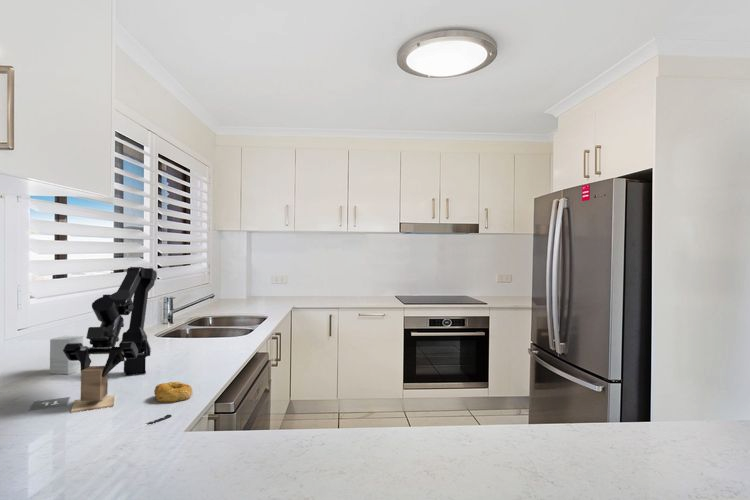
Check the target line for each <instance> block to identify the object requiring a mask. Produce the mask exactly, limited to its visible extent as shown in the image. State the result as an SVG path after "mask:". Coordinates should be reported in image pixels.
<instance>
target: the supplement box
mask: <svg viewBox="0 0 750 500" xmlns="http://www.w3.org/2000/svg"><path fill="white" fill-rule="evenodd" d="M68 343H82V345H83V346H84V335H63V336H58V337H54V338H50V340H49V374H53V375H56V374H57V375H70V374H73V373H76V372H79V371H81V363H80V361H71V360H69V359H68V358H67V356H66V355H65V353H64V352H63V349H64V347H65V345H66V344H68Z"/></svg>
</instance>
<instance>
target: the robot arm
mask: <svg viewBox="0 0 750 500" xmlns="http://www.w3.org/2000/svg"><path fill="white" fill-rule="evenodd" d="M157 278H158V273H157V270H154V268H153V267H142V266H130V267H127V269H126V274H125V276H124V278H123V280H122V281H121V283H120V285H119V288H118V289H117V290H116V292H113V293H111V294H103V295H102V296H101V297H99V298H97V299H95V300H94V301H93V302H92V303H91V309H92V311H93V313H94V315H95V316H96V318H97V320H98V321H99V322H100V323H101V324H100V326H90V327H88V329H87V332H86V339H87V340H89V342H88V343H89V344H90V345H92V346H87V345H84V344H83V345H82V343H68V344H66V345H65V347H64V349H63V352H64V353H65V355H66V356H67V358H68V359H69V360H71V361H80V363H81V370H80V372H81V371H82V370H84V369H85V368H87V367H89V366H91V363H92V359H91V358H90V356H91V355H108V357H107V360H106V362H105V365H104V366H105V367H104V369H103V373H102V377H105V376H106V375H107V374H108V375H109V373H110V372H111V371H112V370H113V369H114V368H115V367H117V365H119V364H120V363H122V362H123V374H125V376H126V377H128V376H136V375H145V374H147V371H146V363H147V362H146V359H147V357H150V356H151V352H152V347H151V346H150V344H149V340H148V335H147V334H146V331H145V330H144V329H145V328H144V327H145V321H146V313H147V312H146V311H147V305H148V297H149V292H150V291H151V289H152V288H153V287H154V286H155V281H156V280H157ZM132 298H133V299H132ZM129 315H130V318H129V319H130V320H129V326H128V329H127V330H126V331H124V332H123V333H122V338H121V341H120V337H119V335H120V332H121V329H122V328H124V326H125V324H124V320H125V319H124V317H123V316H129ZM119 341H120V342H119ZM117 342H119V344H118V346H116V343H117Z"/></svg>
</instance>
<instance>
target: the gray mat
mask: <svg viewBox="0 0 750 500" xmlns="http://www.w3.org/2000/svg"><path fill="white" fill-rule="evenodd" d="M70 398H71V396H66V397H59V398H52V399H51V398H50V399H44V400H43V399H42V400H37V401H33V403H32V404H31V406H30V407H29V409H28V412H31V411H37V410H46V409H53V408H62V407H66V406H68V403H69V400H70Z"/></svg>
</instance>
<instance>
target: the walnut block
mask: <svg viewBox="0 0 750 500" xmlns="http://www.w3.org/2000/svg"><path fill="white" fill-rule="evenodd" d="M104 367H105V365H92V366H91V365H90V366H89V367H87V368H85V369H84V370H82V371H81V370H80V399H81V401H91V400H101V399H102V398H103V397H105V396H108V385H109V384H108V383H109V377H108V375H109V373H108V374H107V375H106V376H105V377H102V373H103V369H104Z"/></svg>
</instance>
